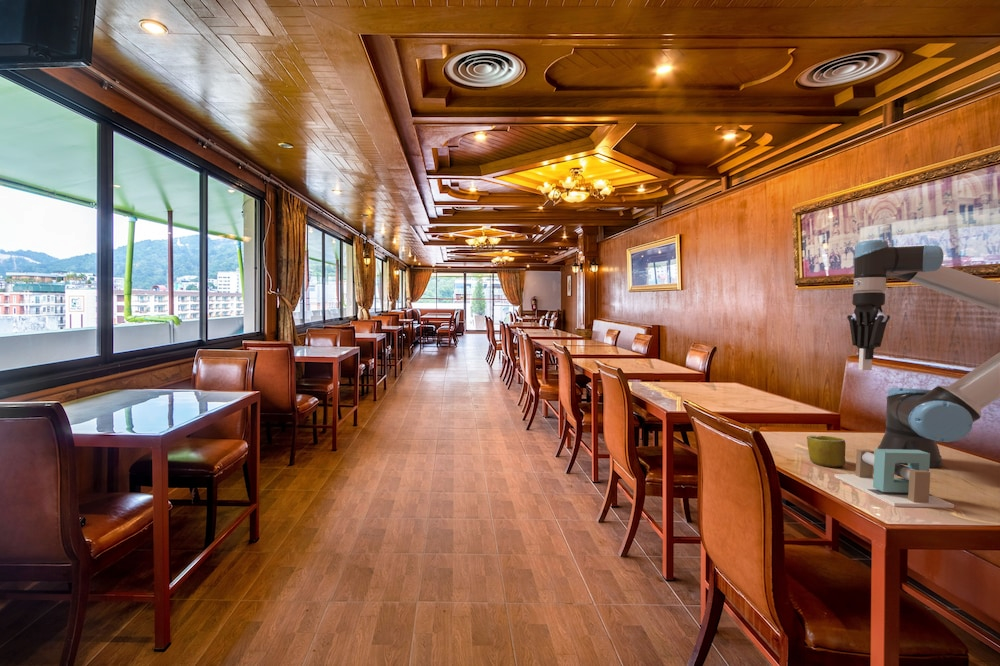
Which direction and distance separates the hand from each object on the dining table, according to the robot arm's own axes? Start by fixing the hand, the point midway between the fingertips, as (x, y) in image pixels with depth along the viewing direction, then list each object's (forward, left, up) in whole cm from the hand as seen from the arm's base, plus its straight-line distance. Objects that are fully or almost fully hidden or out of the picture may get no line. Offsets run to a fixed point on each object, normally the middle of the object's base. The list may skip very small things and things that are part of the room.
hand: (864, 369), depth 131 cm
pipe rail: (+9, +21, -29) cm, 37 cm away
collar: (+9, +24, -28) cm, 38 cm away
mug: (+10, -2, -30) cm, 31 cm away
